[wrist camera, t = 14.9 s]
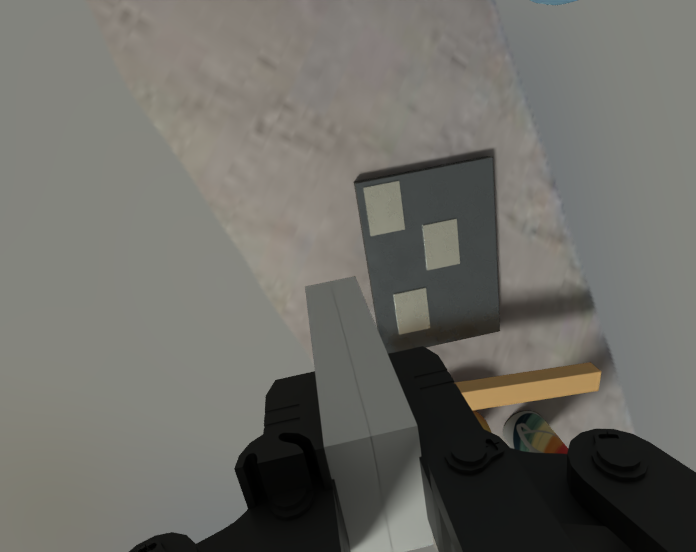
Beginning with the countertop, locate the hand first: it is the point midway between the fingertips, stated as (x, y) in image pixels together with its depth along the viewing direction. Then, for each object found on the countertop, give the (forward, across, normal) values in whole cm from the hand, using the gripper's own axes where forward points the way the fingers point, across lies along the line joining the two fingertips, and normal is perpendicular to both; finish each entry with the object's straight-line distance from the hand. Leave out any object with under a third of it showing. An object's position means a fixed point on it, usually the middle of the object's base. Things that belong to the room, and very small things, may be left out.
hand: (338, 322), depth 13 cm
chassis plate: (+32, +12, -12) cm, 37 cm away
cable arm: (+26, +15, -25) cm, 39 cm away
